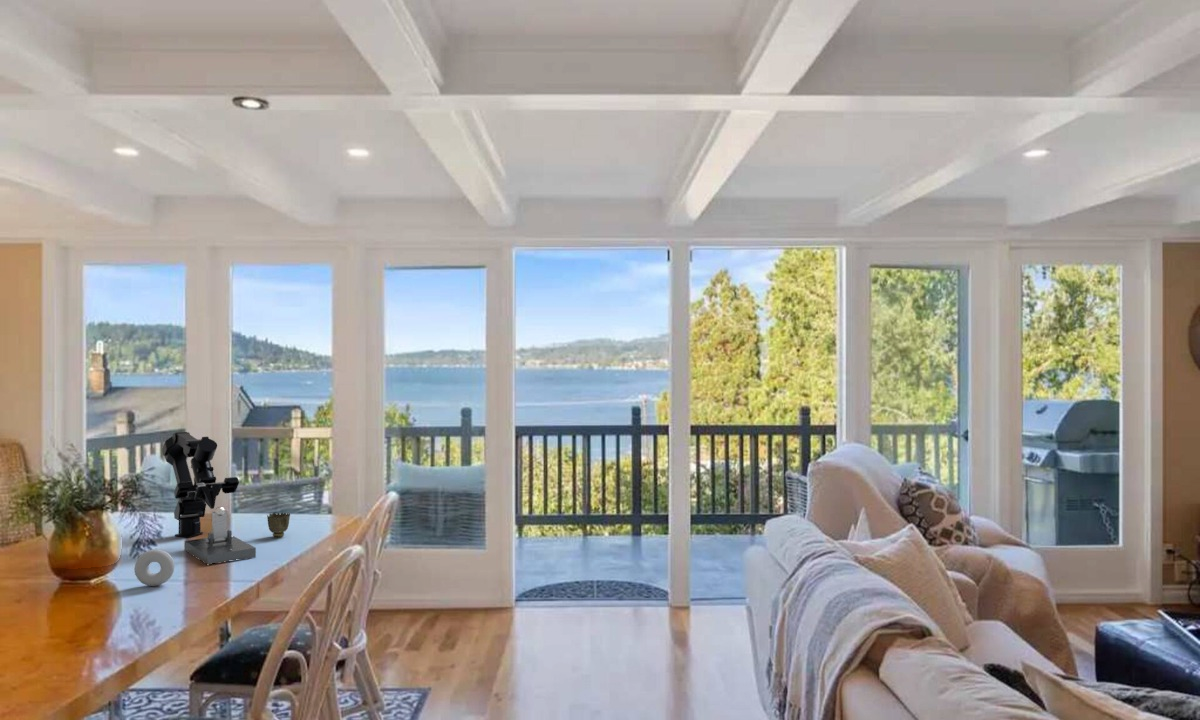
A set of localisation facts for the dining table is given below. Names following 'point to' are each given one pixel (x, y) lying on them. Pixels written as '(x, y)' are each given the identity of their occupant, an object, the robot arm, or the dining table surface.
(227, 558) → the lever base
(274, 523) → the cup
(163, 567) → the donut
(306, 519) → the dining table surface
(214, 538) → the lever
